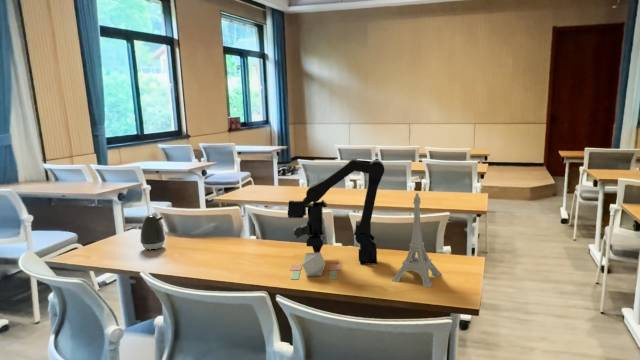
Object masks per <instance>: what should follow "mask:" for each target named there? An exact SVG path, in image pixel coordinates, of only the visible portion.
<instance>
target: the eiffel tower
mask: <svg viewBox="0 0 640 360" xmlns="http://www.w3.org/2000/svg"><path fill="white" fill-rule="evenodd" d="M412 204H413V205H414V212H413V214H414V215H413V225H412V226H413V227H412V235H411V241H410V243H409V249H408V252H407V256H406V258H405V259H404V260H403V261H402V262H401V264H402V266H401V267H400V269H399V270H398V271H397V272H396V274H395V276H394V277H393V278H392V279H391V282H398V283H400V282H401V281H402V280H403V278H402V277H403V275H404V274H405V273H406V272H411V271H414V272H416V273H417V274H419V275H420V277H421V280H422V286H421V287H425V288H430V289H431V287H432V286H433V283H432V281H431V278H430V275H429V274H430V273H429V270H430V272H431V276H433V277H434V276H435V277H440V276H441V275H442V272H440V271H439V270H438V268H437V267H436V266H435V265H434V263H433V262H432V258H429V256H428V253H427V251H426V249H425V246H424V245H425V242H423V233H422V225H421V211H420V210H421V209H420V204H421V198H420V195H419V192H415V196H414V197H413V202H412ZM416 255H417V256H416Z"/></svg>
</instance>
